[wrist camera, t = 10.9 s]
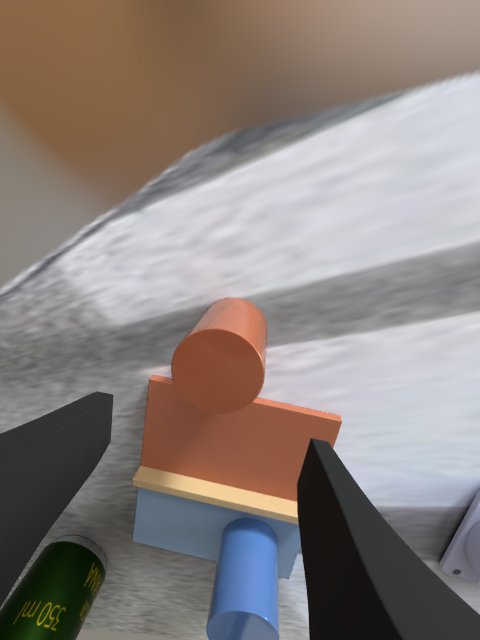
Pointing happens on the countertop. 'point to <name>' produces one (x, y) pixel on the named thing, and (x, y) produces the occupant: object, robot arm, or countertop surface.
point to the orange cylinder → (222, 357)
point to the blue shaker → (245, 584)
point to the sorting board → (222, 471)
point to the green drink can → (55, 592)
